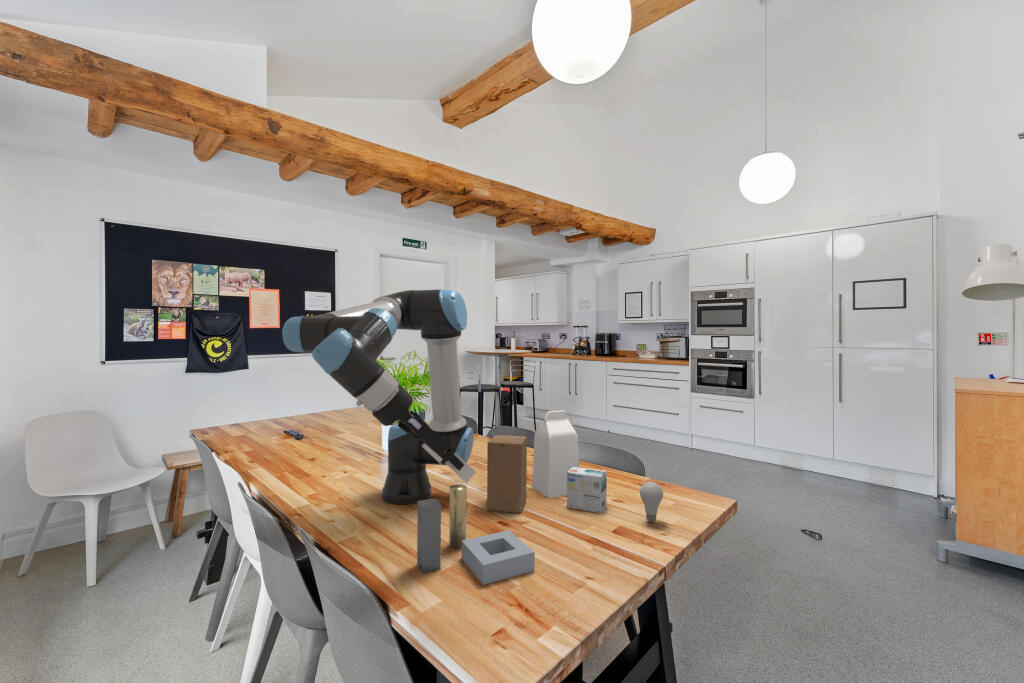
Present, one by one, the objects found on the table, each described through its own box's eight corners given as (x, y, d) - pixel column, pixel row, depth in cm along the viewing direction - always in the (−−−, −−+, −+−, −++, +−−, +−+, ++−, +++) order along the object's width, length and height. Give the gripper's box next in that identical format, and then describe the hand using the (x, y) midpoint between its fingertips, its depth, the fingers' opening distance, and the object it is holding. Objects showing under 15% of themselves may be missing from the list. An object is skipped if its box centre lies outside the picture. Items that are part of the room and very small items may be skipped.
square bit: (422, 573, 92) (422, 507, 92) (417, 564, 95) (417, 501, 95) (440, 569, 94) (440, 504, 94) (434, 560, 97) (435, 498, 97)
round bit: (445, 546, 104) (446, 487, 104) (457, 540, 107) (458, 483, 107) (457, 551, 102) (458, 491, 102) (469, 544, 105) (470, 486, 105)
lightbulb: (651, 528, 114) (651, 487, 114) (634, 520, 120) (634, 480, 120) (667, 524, 117) (668, 483, 117) (651, 516, 123) (651, 477, 123)
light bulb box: (607, 506, 130) (607, 470, 130) (601, 514, 124) (602, 476, 124) (572, 500, 135) (572, 465, 135) (565, 508, 128) (566, 471, 128)
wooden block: (520, 514, 124) (521, 443, 124) (486, 510, 126) (487, 441, 126) (526, 501, 134) (527, 436, 133) (494, 498, 136) (495, 434, 135)
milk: (548, 498, 136) (548, 415, 136) (531, 486, 147) (532, 409, 147) (580, 493, 141) (581, 412, 141) (562, 482, 152) (563, 407, 152)
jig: (483, 584, 88) (483, 565, 88) (461, 558, 98) (461, 540, 98) (534, 570, 93) (534, 552, 93) (508, 546, 104) (508, 530, 104)
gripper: (359, 404, 93) (426, 467, 100) (385, 424, 71) (469, 502, 78) (384, 379, 95) (448, 441, 102) (418, 390, 73) (496, 469, 80)
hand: (457, 468), depth 90 cm, fingers open, 13 cm apart
